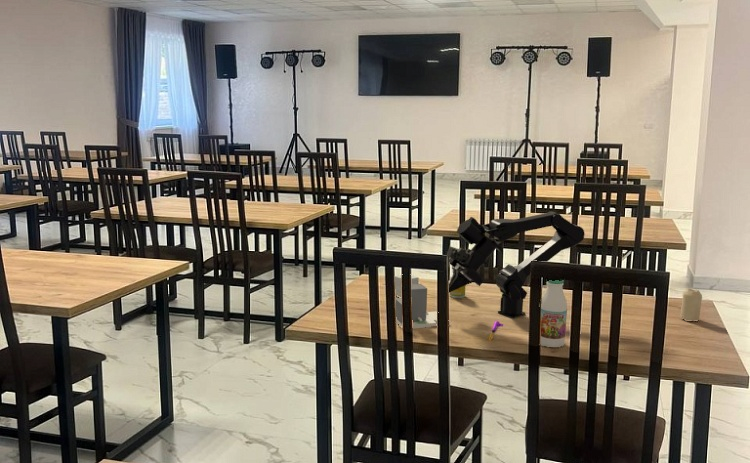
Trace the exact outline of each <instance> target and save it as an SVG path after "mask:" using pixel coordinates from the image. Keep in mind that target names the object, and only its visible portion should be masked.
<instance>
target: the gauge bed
mask: <svg viewBox="0 0 750 463" xmlns="http://www.w3.org/2000/svg"><path fill="white" fill-rule="evenodd" d="M395 299H396V317H397V323H398V324H399V325H400V326H402V298H398V297H395V298H394V300H395ZM437 312H438V311H426V320H422V321H413V329H412V330H414V329H425V327H426V328H432V327H431V326H436V324H437ZM397 323H396V324H397ZM398 324H397V325H398ZM399 325H398V326H399ZM449 325H450V321H449ZM400 326H399V327H400Z"/></svg>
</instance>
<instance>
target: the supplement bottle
mask: <svg viewBox="0 0 750 463" xmlns="http://www.w3.org/2000/svg"><path fill="white" fill-rule="evenodd" d="M452 276H453V270H452V274H451V275H450V277H449V279H450V280H449V282H450V281H451V278H452ZM466 286H467V285H465V286H463V287H460V288H458V289H456V290H454V291H452V292H450V293H449V297H451V298H453V299H462V298H465V297H466Z"/></svg>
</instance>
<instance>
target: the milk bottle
mask: <svg viewBox="0 0 750 463" xmlns="http://www.w3.org/2000/svg"><path fill="white" fill-rule="evenodd" d="M564 282H565V279H564V280H562V281H559V280H555V281H552V280H549V281H547V280H546V284H547V285H546V289H545V291H544V293H543V294H542V296H541V298H542V304H541V345H540V346H542V347H544V346H547V347H546V348H549V347H559V348H561V347H560V346H562V347H563V346H564V345H565V342H566V341H565V340H566V332H567V330H566V329H567V318H568V316H567V315H568V303H567V299H566V295H565V293H564V290H563V289H564V288H563V286H564Z"/></svg>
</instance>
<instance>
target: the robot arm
mask: <svg viewBox="0 0 750 463" xmlns="http://www.w3.org/2000/svg"><path fill="white" fill-rule="evenodd" d="M548 227H552V228H553V230H555V231H554V234H553V235H552V238H551V239H550V240H549V241H547V242H546V243H545V244H544V245H542V246H541V247H540V248H539V249H537V250H536V251H534V252H533V253H532V254H531V255H529V256H528V257H526V259H524V260H523V261H521V262H520V263H519V264H517V265H515V266H513V265H511V264H507V265H506V266H505V267H504V268H502V269H501V270H498V272H499V273H497V275H496V277H495V284H496V286H497V288H499V291H500V293H502V294H501V297H500V307H499V308H500V310H498V311H497V313H498V314H500V315H503V316H506V317H510V318H513V319H514V318H518V317H521V316H525V315H526V312H525V311H523V310H524V309H523V308H524V300H525V299H526V297H527V295H528V291H526V290H525V289H524V288H523V286H524V285H525V283H526V282H527V279H528V278H529V276H531V275H530V263H531V261H533V260H537V261H547V262H548V261H550V260H551V259H553V258H554V257H555V256H556V255H557V254H560V252H562V251H563V250H567V249H570V248H573V247H575V246H577V245H578V244H581V243H582V242H583V241H584V240H585V230H584V228H583V227H582V226H579V225H576V224H574V223H572V222H570V221H569V220H567V219H566V218H564V217H563V216H562V215H561V214H560V213H557V212H555V211H552V210H551V211H548V212H546V213H540V214H535V215H531V216H527V217H522V218H513V219H511V218H494V219H492V220H490V222H489V223H485V224H480V223H479V222H478V221H477V219H475V217H473V216H471V217H469V218H468V219H466V220H464V221H462V222H461V223H460V224H459V226H458V227H457V229H456V232H457V234H458V235H459V236H460V237H461V238H462V239H463V240H464V241H465V242H467V243H468V244H469V245H474V246H473V247H472V248H471V249H470V248H467V249H464V248H462V247H459V248H456V247H454V246H450V245H449V247H448V250H447V253H446V257H448V258H449V259H448V260H449V262H450V264H449V265H450V266H451V270H452V271H453V272H452V274H453V276H452V278H451V281H450V280H449V283H448V285H449V292H448V293H449V294H450V292H452V291H454V290H456V289H458V288H460V287H463V286H465V285H466V286H467V285H469V284H473V282H474V283H475V284H476V285H477V286H479V287H480V286H481V285H482V284H483V283H484V281H485V280H484V276H482V275H481V274H480V273H479V272H478V271H479V270H480V268H481V267H482V266H483V265H484V266H486V265H487V260H488V259H489V257H490V256H491V255H492V254H493V253H494V252H495V251H496V250H497V251H499V252H501V253H502V252H503V243H502V242H501V241H503V242H504V241H507V240H510V239H512V238H514V237H516V236H517V235H519V234H521V233H524V232H529V231H533V230H538V229H544V228H548ZM485 234H486V235H485ZM487 235H488V236H487ZM493 237H494V238H495V239H494V238H493ZM496 239H497V240H500V241H496ZM472 281H473V282H472ZM466 286H465V287H466Z"/></svg>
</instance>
